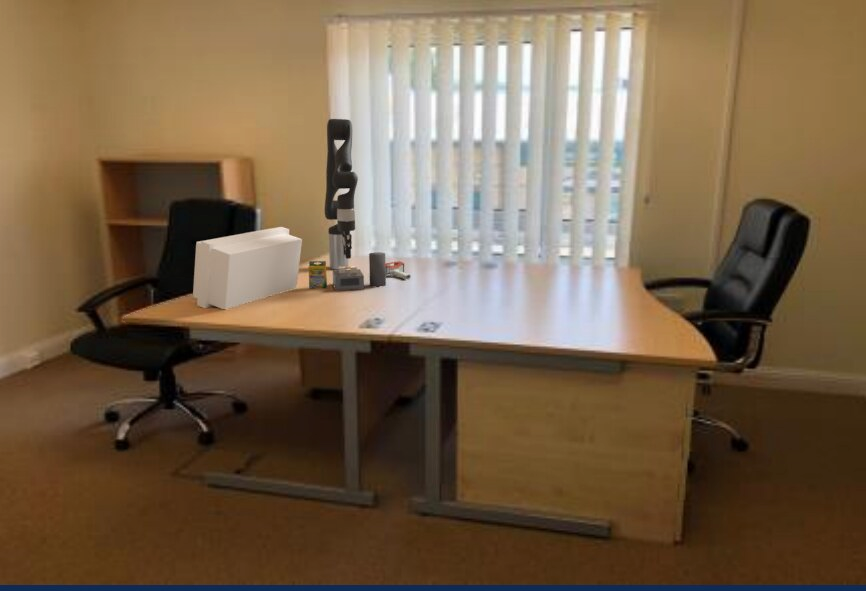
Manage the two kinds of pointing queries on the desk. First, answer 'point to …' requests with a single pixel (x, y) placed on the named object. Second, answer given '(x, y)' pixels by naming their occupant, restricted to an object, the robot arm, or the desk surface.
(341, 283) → the panel
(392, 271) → the tape dispenser
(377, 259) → the grey round-ended cylinder
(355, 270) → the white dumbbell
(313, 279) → the crayon box
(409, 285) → the desk surface
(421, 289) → the desk surface
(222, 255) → the light box
